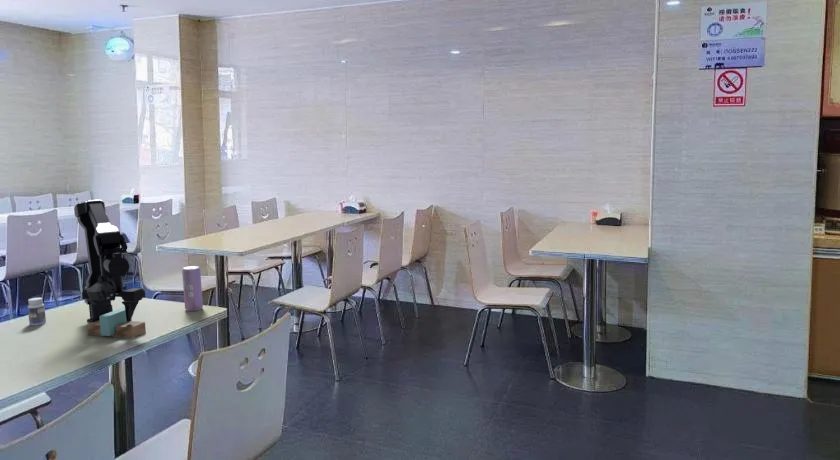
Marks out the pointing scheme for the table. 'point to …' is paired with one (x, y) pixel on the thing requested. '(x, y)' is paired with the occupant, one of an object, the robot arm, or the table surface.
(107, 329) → the teal upright brick
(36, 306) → the pill bottle
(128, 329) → the slotted block
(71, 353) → the table surface
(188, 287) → the beverage can
